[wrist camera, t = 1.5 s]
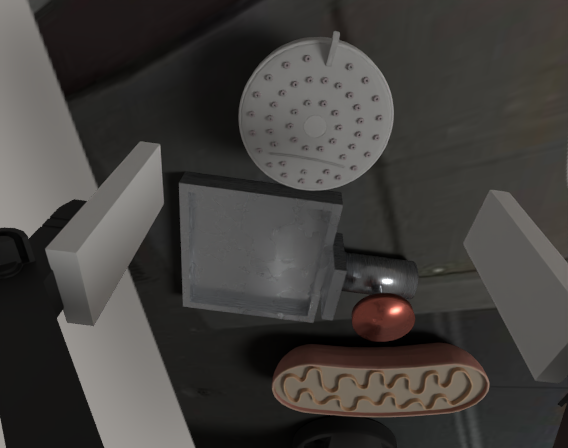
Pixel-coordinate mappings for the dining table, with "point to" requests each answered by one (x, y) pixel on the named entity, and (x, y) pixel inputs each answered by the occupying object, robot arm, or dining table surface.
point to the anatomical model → (379, 380)
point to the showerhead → (316, 113)
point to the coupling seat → (284, 257)
